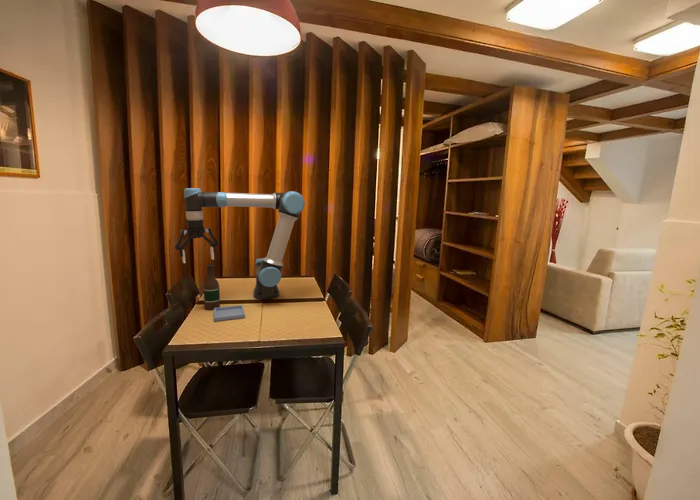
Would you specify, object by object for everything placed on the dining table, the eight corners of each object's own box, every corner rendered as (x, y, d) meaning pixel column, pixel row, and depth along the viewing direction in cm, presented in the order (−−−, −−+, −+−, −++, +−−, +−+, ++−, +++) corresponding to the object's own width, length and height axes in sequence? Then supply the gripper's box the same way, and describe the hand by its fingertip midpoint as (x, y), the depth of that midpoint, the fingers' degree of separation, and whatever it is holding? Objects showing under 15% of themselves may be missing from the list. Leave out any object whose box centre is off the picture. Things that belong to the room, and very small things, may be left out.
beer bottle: (214, 311, 162) (212, 266, 158) (201, 309, 164) (198, 265, 159) (223, 306, 170) (221, 263, 165) (210, 304, 171) (208, 262, 167)
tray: (242, 308, 167) (242, 304, 167) (245, 318, 154) (245, 314, 154) (214, 311, 162) (214, 307, 161) (214, 321, 149) (214, 317, 149)
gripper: (218, 217, 166) (221, 256, 170) (164, 220, 151) (169, 263, 155) (222, 218, 161) (226, 258, 165) (168, 221, 145) (173, 266, 149)
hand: (198, 261), depth 160 cm, fingers open, 13 cm apart
